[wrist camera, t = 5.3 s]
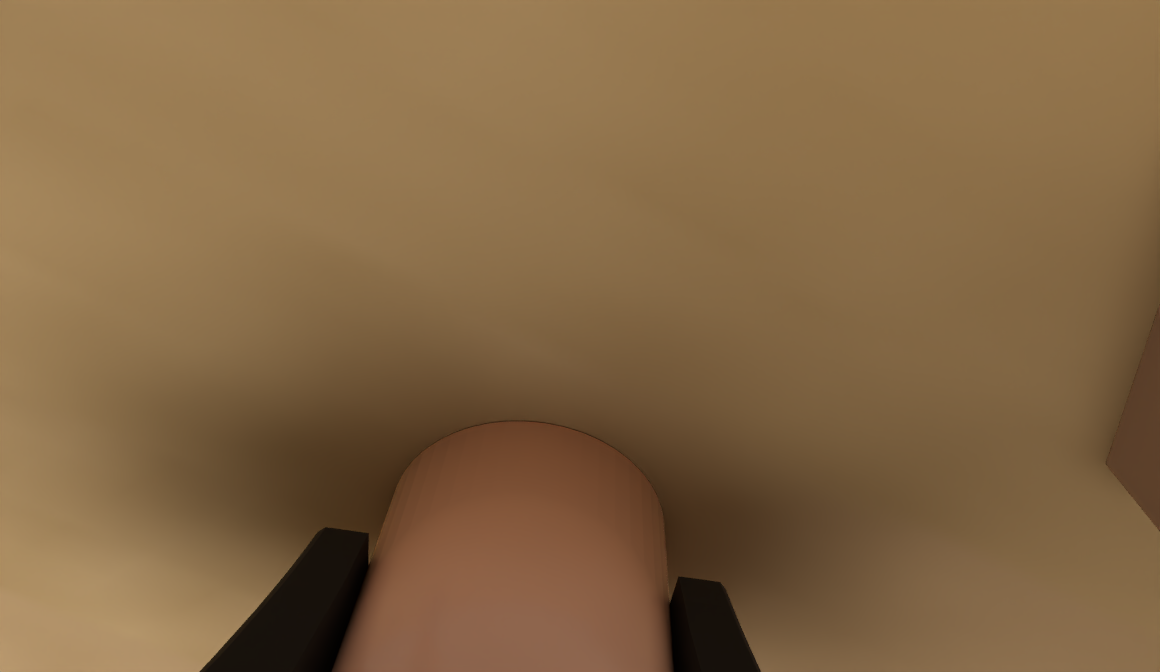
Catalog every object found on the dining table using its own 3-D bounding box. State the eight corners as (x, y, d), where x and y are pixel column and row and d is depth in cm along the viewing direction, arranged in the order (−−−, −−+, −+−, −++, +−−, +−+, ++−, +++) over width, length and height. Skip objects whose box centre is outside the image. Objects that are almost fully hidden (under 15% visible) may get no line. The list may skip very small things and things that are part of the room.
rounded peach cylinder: (692, 444, 11) (735, 795, 7) (634, 632, 14) (643, 980, 9) (395, 401, 11) (258, 734, 7) (388, 598, 13) (284, 939, 9)
